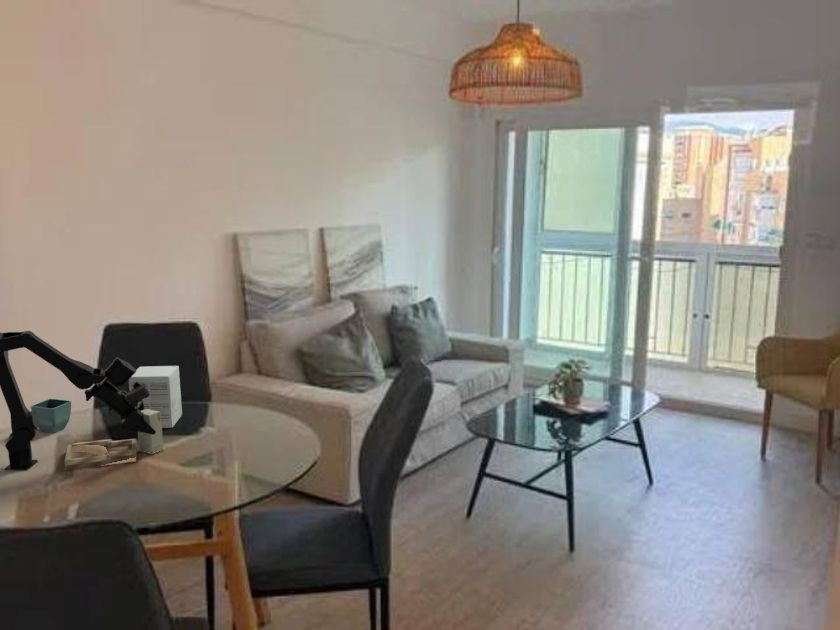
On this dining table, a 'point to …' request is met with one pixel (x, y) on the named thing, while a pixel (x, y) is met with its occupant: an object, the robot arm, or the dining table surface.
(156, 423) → the skincare box
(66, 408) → the flower pot
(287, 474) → the dining table surface
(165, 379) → the supplement box
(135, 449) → the keyhole guide
